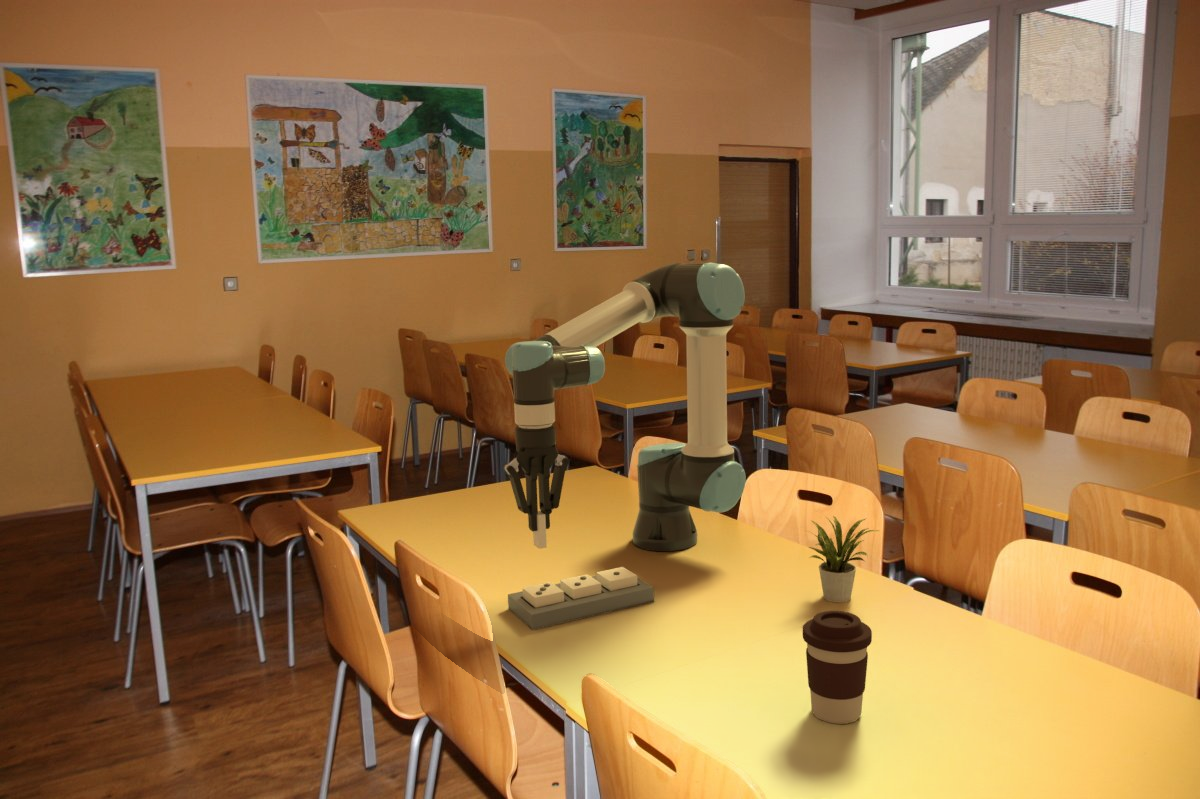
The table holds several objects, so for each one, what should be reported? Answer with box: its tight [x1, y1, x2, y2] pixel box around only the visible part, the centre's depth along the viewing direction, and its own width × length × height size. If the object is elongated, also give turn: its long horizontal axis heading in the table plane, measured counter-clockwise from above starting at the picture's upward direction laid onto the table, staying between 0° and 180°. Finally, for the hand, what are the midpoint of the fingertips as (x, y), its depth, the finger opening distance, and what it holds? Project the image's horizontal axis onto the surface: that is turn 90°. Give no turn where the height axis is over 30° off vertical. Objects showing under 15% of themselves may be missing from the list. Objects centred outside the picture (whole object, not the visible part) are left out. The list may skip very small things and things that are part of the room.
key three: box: [522, 581, 564, 608], centre depth 187 cm, size 6×6×2 cm
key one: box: [595, 566, 638, 591], centre depth 194 cm, size 6×6×2 cm
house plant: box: [806, 515, 879, 603], centre depth 189 cm, size 14×14×16 cm
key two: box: [559, 574, 601, 599], centre depth 191 cm, size 6×6×2 cm
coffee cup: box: [802, 609, 873, 725], centre depth 145 cm, size 10×10×15 cm
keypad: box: [507, 575, 655, 631], centre depth 191 cm, size 26×12×3 cm, turn 117°
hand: (540, 546), depth 185 cm, fingers closed
